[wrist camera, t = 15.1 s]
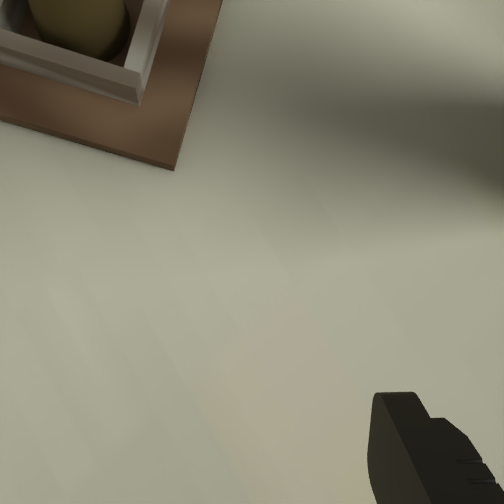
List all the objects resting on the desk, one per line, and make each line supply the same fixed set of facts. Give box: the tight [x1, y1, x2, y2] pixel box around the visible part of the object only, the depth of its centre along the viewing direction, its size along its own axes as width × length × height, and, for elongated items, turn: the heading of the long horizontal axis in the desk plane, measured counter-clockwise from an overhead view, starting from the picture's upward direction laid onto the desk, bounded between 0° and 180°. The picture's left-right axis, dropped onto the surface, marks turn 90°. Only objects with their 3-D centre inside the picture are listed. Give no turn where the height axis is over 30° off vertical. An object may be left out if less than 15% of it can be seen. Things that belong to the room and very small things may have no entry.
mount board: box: [0, 0, 223, 171], centre depth 30 cm, size 16×16×4 cm
